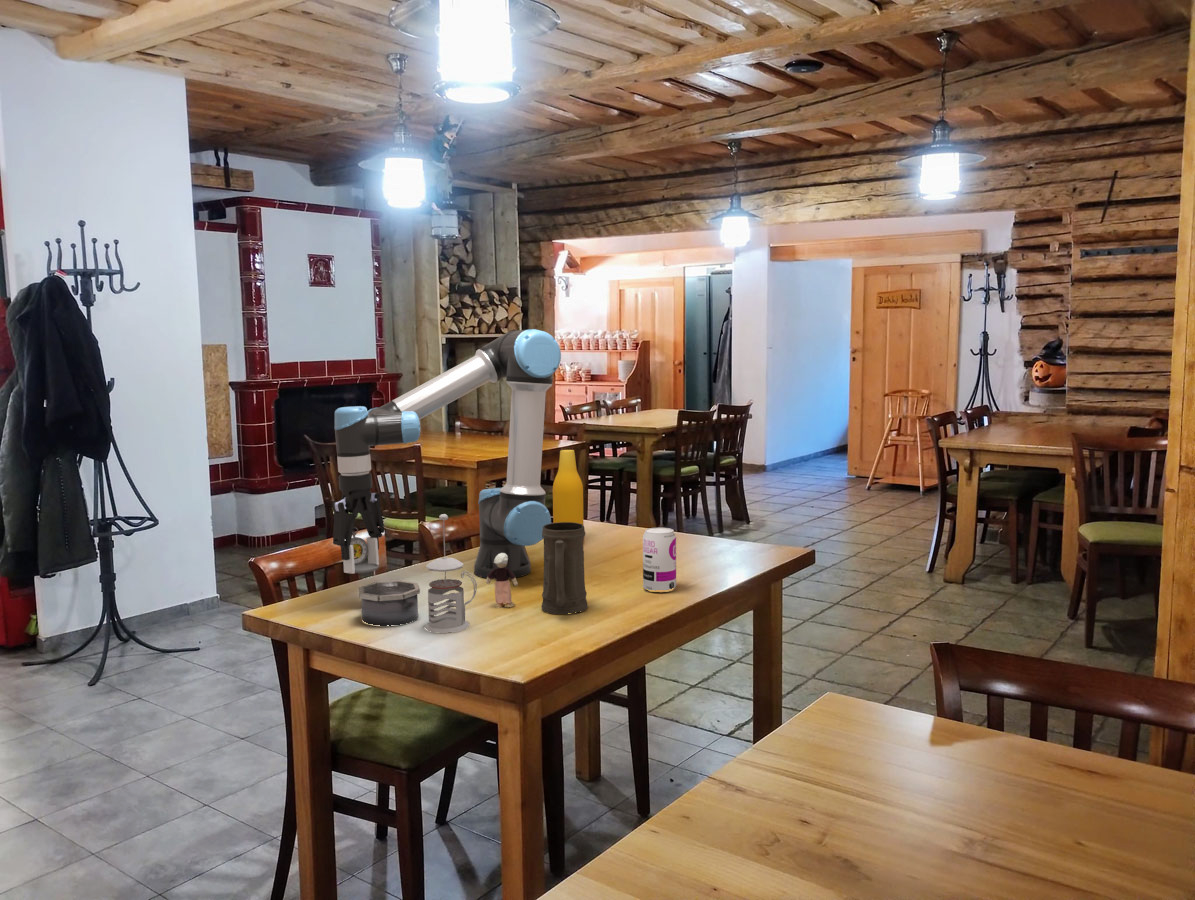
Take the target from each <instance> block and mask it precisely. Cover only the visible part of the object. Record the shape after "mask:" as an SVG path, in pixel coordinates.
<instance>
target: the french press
mask: <svg viewBox="0 0 1195 900" xmlns="http://www.w3.org/2000/svg"><path fill="white" fill-rule="evenodd" d="M438 518H439V519H438V520H439V521H442V525H443V528H442V529H443V555H444V556H443V557H438V558H435V559H434V560H432V561H430V562H429V563H427V564H426V566H425V568H426V569H428V570H429V571H433V572H444V578H441V579H439V578H438V579H435V580H432V581H431V582H429V584H428V585H429V587H430V588H428V590H427V599H428V600H427V602H428V605H427V607H428V609H427V610H428V621H427V623H426V624H425V625H424V628H426V629H427V630H428V631H427V630H426V629H425V630H426V631H427V632H430V631H431V632H430V633H434V632H440V633H439V634H448V632H452V633H457V632H456V631H458V632H461V631H464V630H466V629H468V628H469V627H470V623H469V622H468V621H467V620H466V605H468V604H470V603H471V602H472V601H473V599H475V597H476V594H477V585H478V584H477V580H476V578H475V577H474V575H473V574H472V573H470V572H469V571H467V570H463V571H462V572H461V574H460V578H461V579H464V576H465V575H466V576H467V577H468V578H469V579H470V581H471V583H472V585H473V595H472V597H471V599H469V600H467V601H465V599H464V598H465V597H464V593H465V592H464V587H462V585H463V581H461V580H460V579H455V578H454V579H453V578H447V576H446V573H447V572H453V571H457V570H460V569H462V568H463V566H464V563H463V562H462V561H460V560H458V559H456V558H454V557H447V556H446V543H445V541H446V540H445V539H446V538H445V535H446V534H445V521H446V520H448V519H449V516H448V515H447V514H446V513H443V514H440V515H439V517H438ZM451 591H456V592H452V593H451ZM448 592H450V593H449V594H448ZM446 593H447V594H446ZM444 600H446V601H444ZM442 601H444V602H442ZM439 602H441V603H439ZM435 603H439V604H435ZM444 606H445V607H444ZM442 607H443V608H442ZM440 608H441V609H440ZM435 609H439V610H435ZM444 612H445V613H444ZM441 613H442V614H441ZM438 614H440V615H438ZM463 629H464V630H463Z"/></svg>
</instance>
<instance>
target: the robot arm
mask: <svg viewBox="0 0 1195 900" xmlns="http://www.w3.org/2000/svg"><path fill="white" fill-rule="evenodd" d="M561 351H562V350H561V348H560V345H559V343H558V341H557V340H556V339H555V337H554V336H553V335H551V334H550V333H548V332H546V331H544V330H539V329H535V328H532V329H521V330H520V329H516V330H511V331H508V332H506V333H504V334H501V336H498V337H497V338H496V339H494V340H492V341H491V342H489V343H487V344H485V345H484V346H482V347H480V348H478V349H477V350H476V351H475V354H474V356H472V357H470V358H468V359H467V360H464V361H463V362H461V363H459V364H458V365H455V366H454V367H452V368H450V369H447V370H446V371H444V372H442V373H440V374H439V375H437V376H435V377H433V378H431V379H429V380H428V381H426V382H424V383H422V384H421V385H419V386H417V387H415V388H413V389H411V390H409V391H407V392H405V393H404V394H402V395H400V396H398V397H396V398H395V399H392V400H391V401H390V402H389V401H388V402H387V403H385V404H383V405H382V406H380V407H374V408H370V409H369V410H368V408H367V407H366V406H363V405H362V406H361V405H359V406H358V405H357V406H356V405H355V406H343V407H338V408H337V409H335V411H334V426H333V427H334V433H335V435H334V436H335V444H336V456H337V458H336V459H337V472H338V473H340V474H339V476H338V488H339V490H340V492H341V493H342V494H341V495H342V496H341V499H340V500H339V501H333V502H332V504H331V505H332V510H333V527H332V528H333V531H332V532H333V533H332V544H333V545H337V546H339V547H340V553H341V554H340V555H341V560H342V562H343V573H346V574H353V575H354V574H356V573H355V565H354V558H355V556H354V553H355V552H354V551H353V545H350V543H351V538H353V535H352V533H353V531H354V529H355V528H354V527H355V523H356V518H358V515H359V514H360V516H361V518H362V522H363V524H364V526H365V527H364V528H365V529H366V532H367V533H368V536H369V537H366V543H367V546H368V554H367V563H373V564H378V566H379V565H380V559H379V558H380V557H379V549H380V543H379V542H380V539H379V538H382V537H383V533H385V526H384V519H383V513H382V506H381V494H380V493H379V492H372V491H371V489H372V488H373V477H372V473H371V470H372V462H371V461H372V460H371V447H376V446H386V445H387V446H388V445H397V444H398V445H399V444H400V445H401V444H405V445H406V444H407V443H415V442H417V441H419V439H420V436H421V423H420V420H422V419H423V418H425V417H428V416H429V415H430V414H432V413H435V412H436V411H438V410H440V409H441V408H444V407H445V406H447V405H449V404H451V403H453V402H454V401H457V400H458V399H460V398H462V397H463V396H465V395H467V394H469V393H471V392H473V391H474V390H476V389H478V388H479V387H481V386H483V385H485V384H488V382H489V383H493V384H495V383H497V382H499V381H501V380H503V379H505V382H506V384H507V386H509V387H510V389H511V395H510V396H511V399H510V414H509V415H510V416H509V431H508V432H509V433H508V451H507V454H508V455H507V468H506V483H505V484H504V485H503V487H494V488H485V489H481V491H480V492H479V494H478V495H479V497H478V511H479V512H478V515H479V517H478V518H479V541H480V542H479V544H480V545H479V548H478V552H477V554H476V558H475V561H474V565H473V566H474V567H473V570H474V575H475V576H477V577H481V578H484V579H487V577H488V576H487V575H488V574H489V573H490V572H491V571H492V570H494V569H497V568H499V567H498V566H497V564H495V563H493V562H494V559H495V558H496V556H497V555H498V554H500V553H505V554H506V555H507V556H508V562H507V566H506V567H505V568H506V569H509V570H511V571H512V573H513V574H514V575H515V578H519V577H520V578H521V577H523V576H526V575H528V574H530V573H531V572H532V565H531V560H530V558H529V554H528V552H527V549H526V547H529V546H534V545H537V544H538V543H540V542H541V541H542V540H544V538H543V536H542V531H543V526H544V525H547V524H551V523H552V518H551V514H550V510H548V507H547V506H546V494H547V493H546V491H545V489H544V488H543V487H542V486H541V477H542V476H541V475H542V474H541V473H542V461H543V460H542V459H543V458H542V457H543V442H544V430H545V429H544V427H545V426H544V425H545V424H544V423H545V411H546V410H545V409H546V394H547V391H548V390H549V389H550V388H551V387H552V386H553V380H554V379H553V378H554V373H555V372H556V371H557V370H558V368H559V367H560V364H561V359H562V352H561ZM508 578H509V577H508ZM494 579H495V580H496V578H494ZM509 579H510V578H509Z"/></svg>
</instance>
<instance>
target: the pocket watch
mask: <svg viewBox="0 0 1195 900" xmlns="http://www.w3.org/2000/svg"><path fill="white" fill-rule="evenodd" d="M353 529H356V531H355V530H353V533H352V538H351V543H350V545H353V551H354V565H355V573H354V574H366V573H371V572H375V571H377V570H378V569H379V565H378V564H373V563H368V562H367V563H363V562H364V561H365V560H366V559H367V558H368V546H367V541H365V539H364V538H361V537H357V536H356V535H357V533H358V532H359V528H357V527H356V526H354V528H353Z"/></svg>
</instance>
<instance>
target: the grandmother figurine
mask: <svg viewBox="0 0 1195 900" xmlns="http://www.w3.org/2000/svg"><path fill="white" fill-rule="evenodd" d="M507 562H508V556H507V555H506V554H505V553H500V554H498V555H497V556H496V558H495V559H494V562H493V563H495V564H497V566H498V567H499V568H497V569H494V570H492V571H491V572H490V573H489V574H488V575H487V576H488V577H487V578H486V579H485V584H486V585H489V584H490V583H491V581H492V580H493V579H494V578H496V579H495V582H494V599H495V603H496V604H495V608H498V607H500V608H503V607H504V608H506V607H510V608H512V606H513V607H515V603H514V602H512V601H513V600H512V589H511V582H512V583H513V586H514V587H516V586H518V585H519V583H518V581H517V577H515V575H514V574H513V573H512V571H511V570H509V569H506V568H505V567H506V566H507ZM508 577H509V578H508ZM510 580H511V581H510ZM502 606H503V607H502Z"/></svg>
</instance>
